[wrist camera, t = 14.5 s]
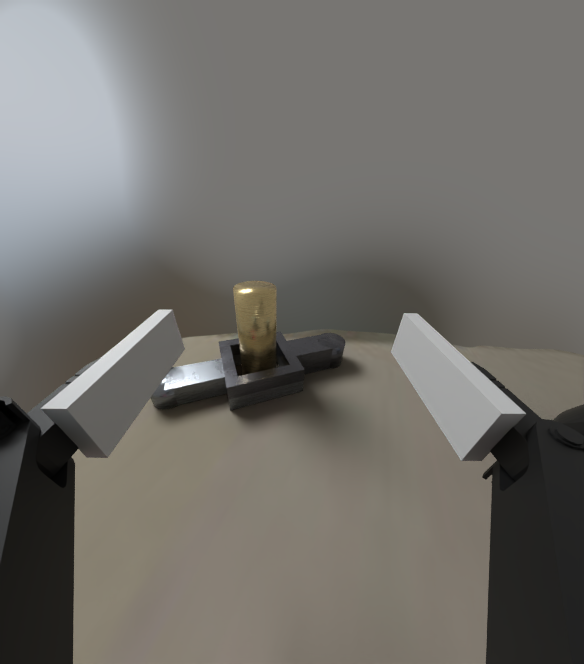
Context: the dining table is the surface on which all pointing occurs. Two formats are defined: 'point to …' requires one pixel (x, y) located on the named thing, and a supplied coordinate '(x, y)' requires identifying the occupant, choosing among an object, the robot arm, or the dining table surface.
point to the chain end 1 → (210, 386)
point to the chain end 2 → (294, 356)
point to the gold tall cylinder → (256, 325)
